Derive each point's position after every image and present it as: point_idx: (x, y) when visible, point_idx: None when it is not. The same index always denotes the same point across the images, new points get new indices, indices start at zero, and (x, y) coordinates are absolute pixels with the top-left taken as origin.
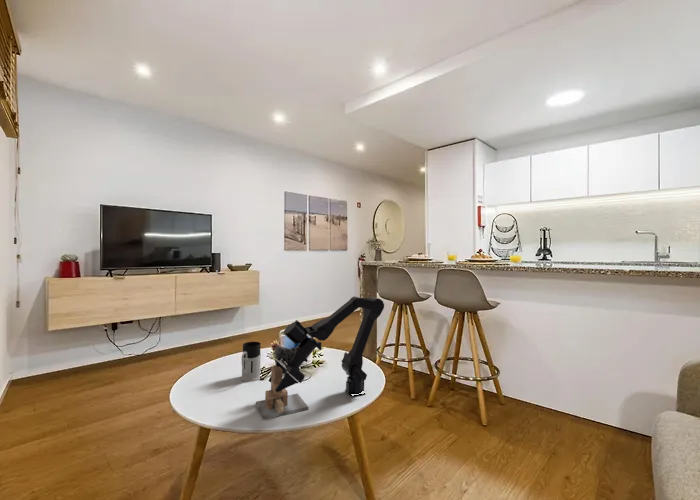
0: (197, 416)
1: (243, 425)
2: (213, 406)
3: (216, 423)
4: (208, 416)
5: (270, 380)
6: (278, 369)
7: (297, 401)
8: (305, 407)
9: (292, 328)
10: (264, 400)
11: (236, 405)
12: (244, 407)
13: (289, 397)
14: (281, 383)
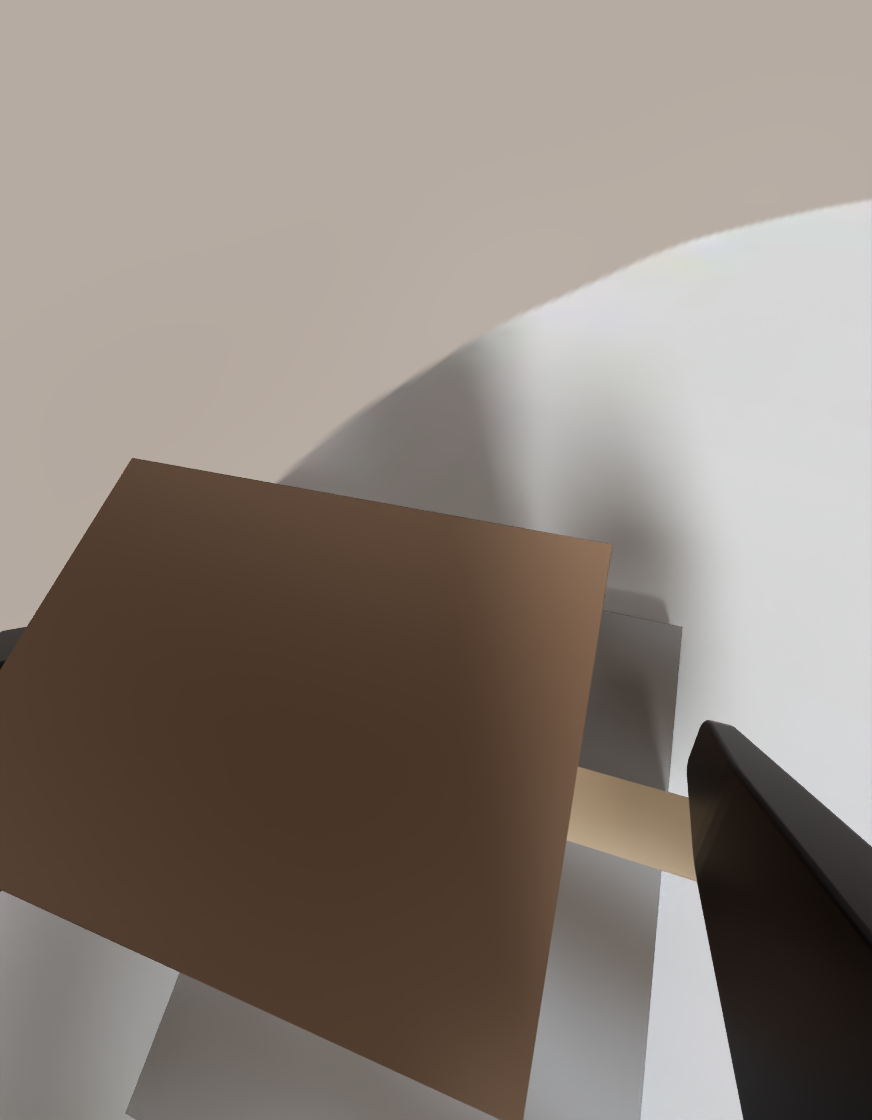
0: (700, 260)
1: (379, 433)
2: (825, 352)
3: (525, 323)
4: (659, 304)
5: (699, 754)
6: (156, 721)
7: (352, 1095)
8: (148, 1058)
9: None
10: (658, 721)
11: (749, 489)
12: (664, 529)
13: (549, 1088)
14: (19, 637)
